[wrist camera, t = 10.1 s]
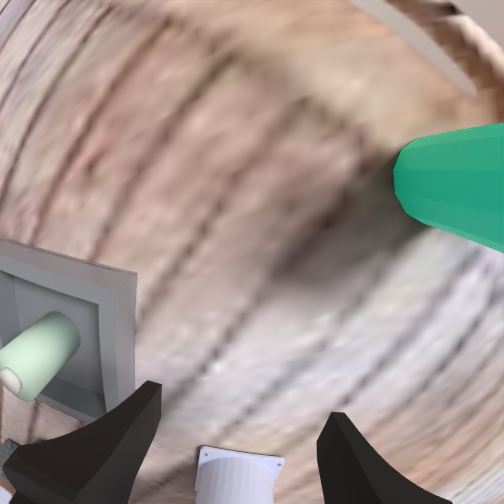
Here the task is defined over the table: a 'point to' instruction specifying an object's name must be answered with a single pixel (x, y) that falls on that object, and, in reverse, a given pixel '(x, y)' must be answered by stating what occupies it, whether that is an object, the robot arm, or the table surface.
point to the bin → (84, 318)
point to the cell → (38, 355)
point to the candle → (456, 183)
